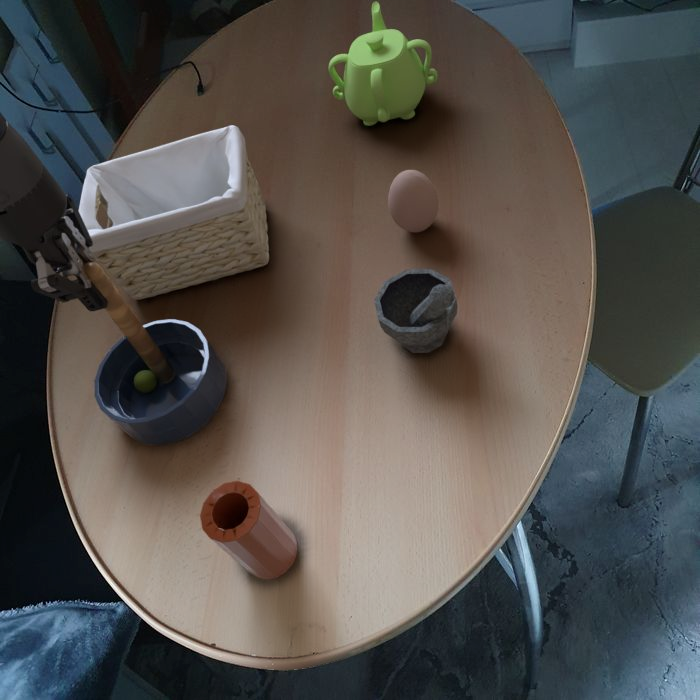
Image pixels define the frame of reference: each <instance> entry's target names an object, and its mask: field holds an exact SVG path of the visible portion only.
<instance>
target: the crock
mask: <svg viewBox="0 0 700 700" xmlns="http://www.w3.org/2000/svg"><path fill="white" fill-rule="evenodd" d="M199 516H200V523H201V529H202V531H203V532H204V533H205V534H206V536H207V537H208V538H209V539H210V540H211V541H212V542H214V544H216V545H217V546H218V547H219V548H220V549H222V550H223V551H224V552H225V553H226V554H228V555H229V556H230V557H231V558H232V559H233V560H234V561H235V562H236V563H238V564H239V565H240V566H241V567H243V568H244V569H245V570H246V571H247V572H248V573H250V574H251V575H253V576H254V577H256V578H259V579H260V580H261V579H262V580H272V579H277V578H279V577H281V576H282V575H284V574H285V573H287V572H288V571H289V570H290V568H291V567H292V566H293V564H294V563H295V561H296V558H297V554H298V542H297V538H296V537H295V534H294V532H293V531H292V530H291V529H290V528H289V527H288V525H287V524H286V523H285V522H284V521H283V520H282V519H281V517H280V516H279V515H278V514H277V513H276V512H275V510H274V509H273V508H272V507H271V506H270V505H269V503H267V501H266V500H265V498H263V497H262V496H261V495H260V493H259V492H258V491H257V490H256V489H255V488H254V487H253V486H252V484H250V483H247V482H245V481H241V480H234V481H228V482H224V483H222V484H221V485H219V486H217V487H216V488H214V489H213V490H212V491H211V492H210V493H209V495H208V496H207V497H206V499H205V500H204V502H203V503H202V507H201V511H200V514H199Z"/></svg>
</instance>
